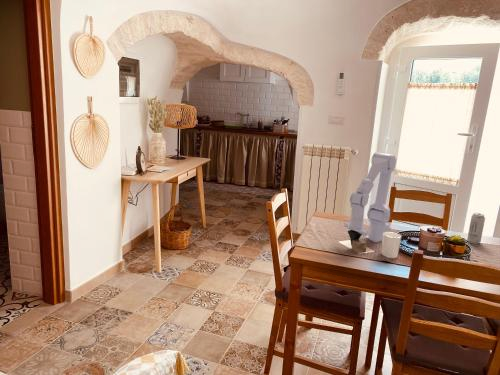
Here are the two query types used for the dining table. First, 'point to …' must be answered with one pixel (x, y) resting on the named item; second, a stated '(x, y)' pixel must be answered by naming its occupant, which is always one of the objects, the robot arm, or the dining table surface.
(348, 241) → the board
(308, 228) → the dining table surface
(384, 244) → the white cup
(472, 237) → the energy drink can
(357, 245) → the block
